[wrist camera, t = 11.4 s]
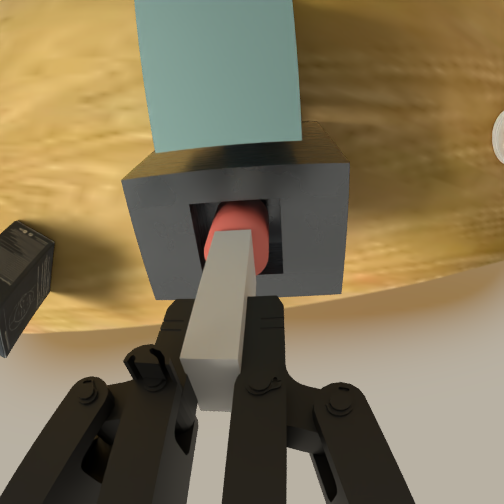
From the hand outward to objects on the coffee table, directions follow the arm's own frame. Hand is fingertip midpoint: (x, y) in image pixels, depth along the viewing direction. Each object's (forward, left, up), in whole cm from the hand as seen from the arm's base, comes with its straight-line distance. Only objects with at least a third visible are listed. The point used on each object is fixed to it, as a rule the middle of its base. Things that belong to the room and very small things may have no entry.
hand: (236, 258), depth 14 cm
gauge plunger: (0, 0, -4) cm, 4 cm away
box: (-24, -6, -12) cm, 27 cm away
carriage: (0, +9, -11) cm, 14 cm away
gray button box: (0, 0, -11) cm, 11 cm away
